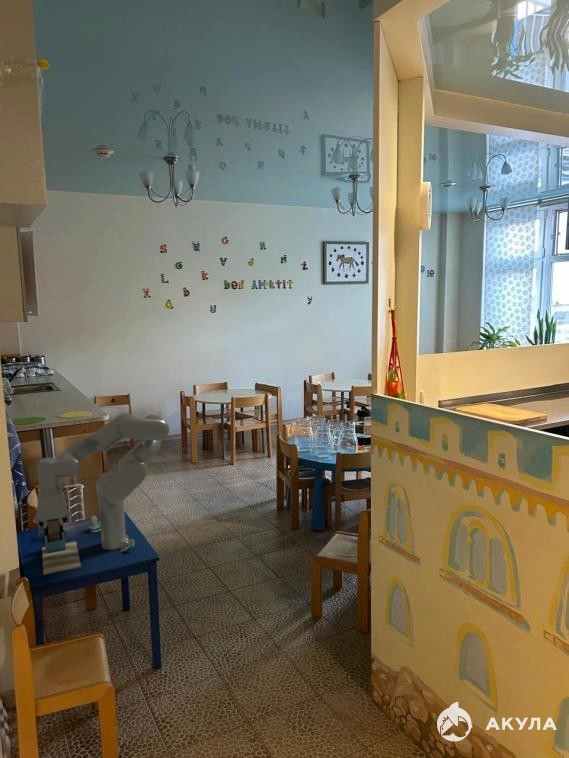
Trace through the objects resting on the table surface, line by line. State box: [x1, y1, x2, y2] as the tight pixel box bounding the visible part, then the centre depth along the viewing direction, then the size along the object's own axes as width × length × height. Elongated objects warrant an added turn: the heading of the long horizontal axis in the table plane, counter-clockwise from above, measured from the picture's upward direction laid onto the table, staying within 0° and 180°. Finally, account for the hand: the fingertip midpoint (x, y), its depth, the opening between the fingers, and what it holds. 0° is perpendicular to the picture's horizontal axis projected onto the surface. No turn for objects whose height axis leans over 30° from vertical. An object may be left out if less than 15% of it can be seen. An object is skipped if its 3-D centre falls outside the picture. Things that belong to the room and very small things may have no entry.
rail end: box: [47, 519, 60, 542], centre depth 219 cm, size 4×4×9 cm
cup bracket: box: [44, 532, 66, 554], centre depth 223 cm, size 14×7×10 cm, turn 24°
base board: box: [41, 540, 82, 576], centre depth 221 cm, size 24×13×2 cm, turn 24°
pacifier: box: [86, 515, 101, 533], centre depth 249 cm, size 7×6×6 cm
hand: (54, 534), depth 219 cm, fingers closed on rail end, 4 cm apart
